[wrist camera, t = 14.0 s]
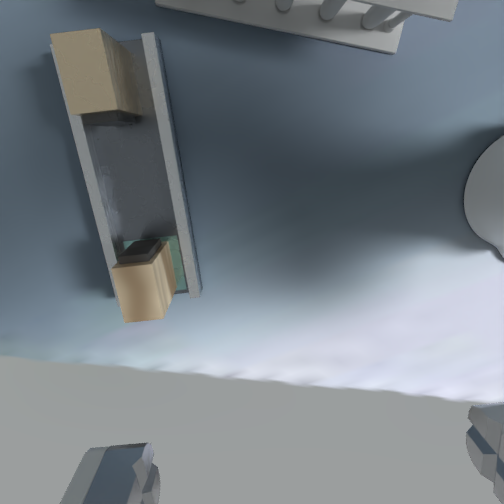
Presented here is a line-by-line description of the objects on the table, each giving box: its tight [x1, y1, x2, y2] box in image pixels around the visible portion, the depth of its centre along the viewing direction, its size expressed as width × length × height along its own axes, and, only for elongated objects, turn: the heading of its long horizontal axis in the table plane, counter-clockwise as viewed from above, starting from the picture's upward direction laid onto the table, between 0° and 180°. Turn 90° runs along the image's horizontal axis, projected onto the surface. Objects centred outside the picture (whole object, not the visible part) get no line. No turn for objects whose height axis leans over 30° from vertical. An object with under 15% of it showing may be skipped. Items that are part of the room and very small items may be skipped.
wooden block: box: [111, 238, 177, 323], centre depth 38 cm, size 4×7×8 cm, turn 6°
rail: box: [50, 28, 202, 306], centre depth 36 cm, size 10×28×9 cm, turn 6°
